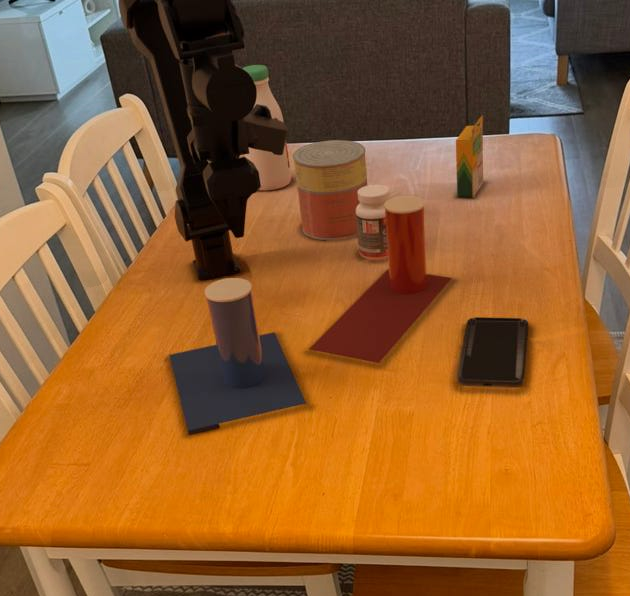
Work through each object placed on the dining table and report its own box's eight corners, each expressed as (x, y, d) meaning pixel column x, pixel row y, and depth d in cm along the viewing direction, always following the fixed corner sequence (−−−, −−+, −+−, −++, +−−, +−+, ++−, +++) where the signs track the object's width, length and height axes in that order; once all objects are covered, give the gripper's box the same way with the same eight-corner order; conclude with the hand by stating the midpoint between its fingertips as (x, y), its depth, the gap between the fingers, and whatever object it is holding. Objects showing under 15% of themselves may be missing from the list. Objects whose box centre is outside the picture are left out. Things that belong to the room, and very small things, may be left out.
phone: (528, 318, 113) (523, 382, 102) (528, 326, 114) (523, 390, 103) (467, 317, 115) (455, 379, 103) (467, 324, 116) (455, 388, 104)
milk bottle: (289, 190, 158) (274, 72, 146) (247, 192, 159) (227, 75, 146) (293, 174, 164) (278, 60, 152) (252, 177, 165) (234, 63, 152)
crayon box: (467, 181, 155) (466, 113, 148) (483, 182, 154) (484, 114, 147) (456, 197, 150) (454, 128, 143) (473, 198, 149) (473, 128, 142)
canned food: (376, 211, 148) (371, 139, 140) (364, 240, 139) (357, 165, 132) (310, 212, 150) (302, 140, 142) (295, 240, 141) (284, 165, 134)
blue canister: (230, 364, 111) (212, 277, 104) (271, 365, 110) (256, 278, 103) (217, 388, 107) (198, 299, 100) (259, 389, 106) (243, 300, 99)
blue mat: (170, 358, 115) (169, 354, 114) (275, 336, 117) (274, 332, 117) (188, 434, 101) (187, 430, 101) (307, 407, 104) (306, 403, 103)
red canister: (384, 281, 126) (378, 199, 119) (420, 273, 127) (416, 192, 120) (396, 297, 122) (391, 214, 115) (433, 289, 123) (430, 206, 116)
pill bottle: (392, 262, 132) (388, 198, 126) (355, 261, 133) (349, 198, 127) (399, 245, 136) (395, 182, 130) (363, 245, 138) (358, 182, 132)
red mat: (388, 271, 130) (388, 268, 129) (452, 281, 126) (452, 277, 125) (309, 352, 113) (308, 348, 113) (379, 366, 109) (378, 362, 109)
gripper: (294, 109, 100) (310, 239, 109) (261, 71, 114) (278, 188, 124) (196, 126, 98) (221, 256, 107) (176, 84, 112) (199, 203, 122)
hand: (233, 223), depth 115 cm, fingers open, 9 cm apart
